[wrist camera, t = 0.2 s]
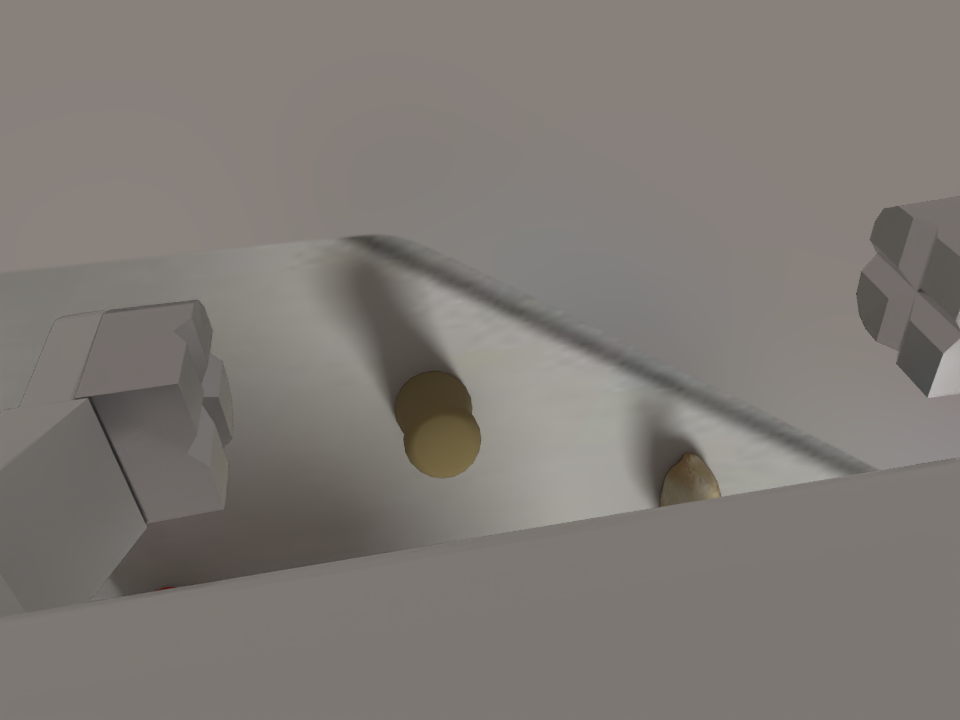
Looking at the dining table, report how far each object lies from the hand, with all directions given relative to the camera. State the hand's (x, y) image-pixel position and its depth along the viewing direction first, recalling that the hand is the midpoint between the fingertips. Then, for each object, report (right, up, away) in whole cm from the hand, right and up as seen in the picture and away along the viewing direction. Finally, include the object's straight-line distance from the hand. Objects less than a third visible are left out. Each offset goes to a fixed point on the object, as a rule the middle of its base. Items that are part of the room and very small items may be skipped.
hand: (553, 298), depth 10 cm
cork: (-5, -5, +55) cm, 56 cm away
